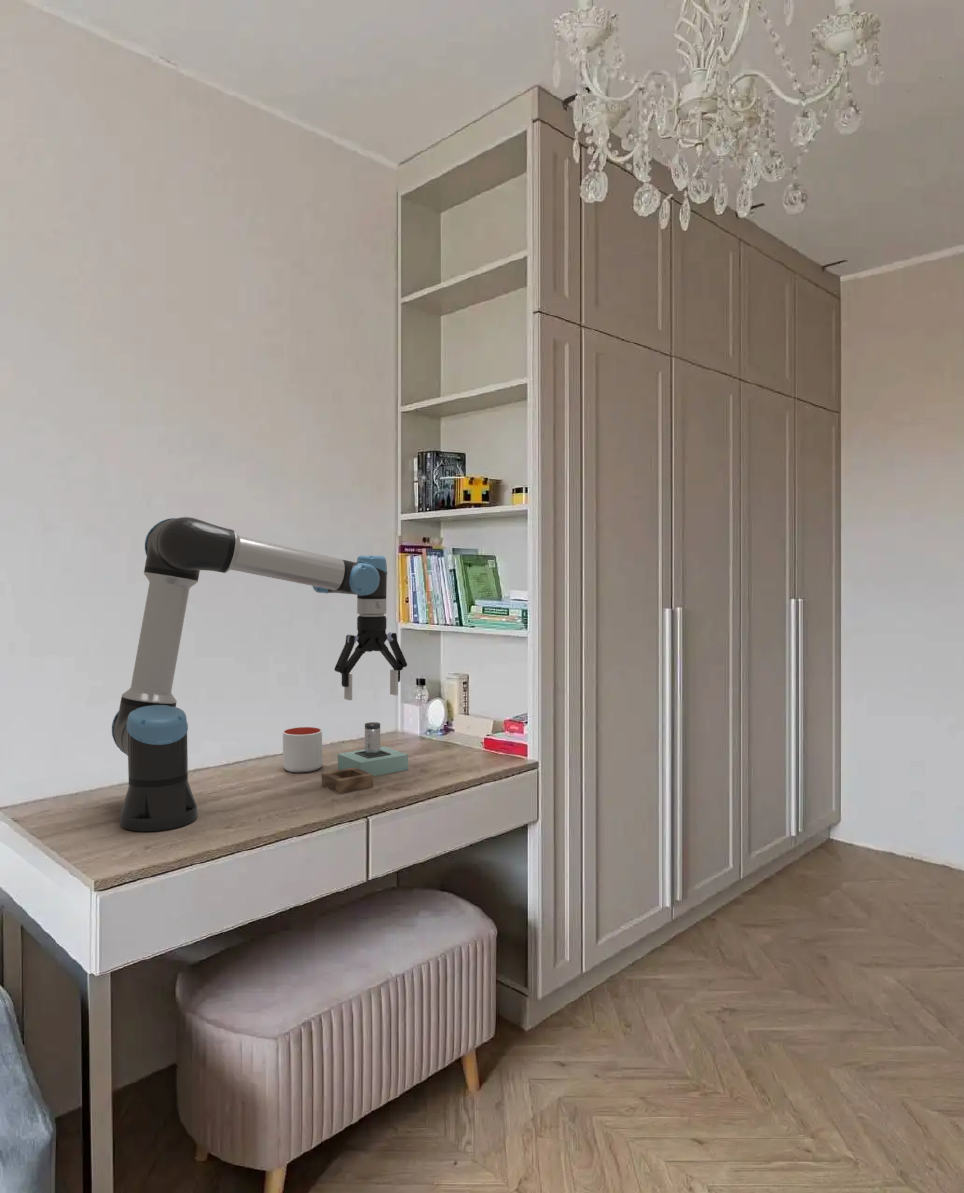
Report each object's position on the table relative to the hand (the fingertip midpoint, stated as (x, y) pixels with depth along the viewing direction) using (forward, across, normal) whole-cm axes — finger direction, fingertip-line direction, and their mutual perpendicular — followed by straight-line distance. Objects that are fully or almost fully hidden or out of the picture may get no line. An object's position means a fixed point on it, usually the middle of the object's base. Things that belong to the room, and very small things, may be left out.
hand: (371, 697), depth 218 cm
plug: (+19, 0, 0) cm, 19 cm away
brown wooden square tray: (+19, -12, -10) cm, 25 cm away
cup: (+19, -14, +12) cm, 27 cm away
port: (+19, 0, 0) cm, 19 cm away
